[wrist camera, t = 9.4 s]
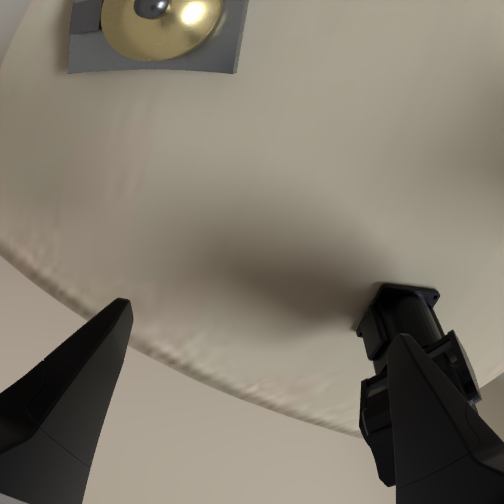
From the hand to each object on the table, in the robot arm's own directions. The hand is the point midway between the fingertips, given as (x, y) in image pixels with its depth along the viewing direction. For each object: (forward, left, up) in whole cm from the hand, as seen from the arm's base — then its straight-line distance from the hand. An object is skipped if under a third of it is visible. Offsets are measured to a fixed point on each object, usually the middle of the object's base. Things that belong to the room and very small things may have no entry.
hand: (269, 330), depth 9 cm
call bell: (+8, -10, -12) cm, 18 cm away
